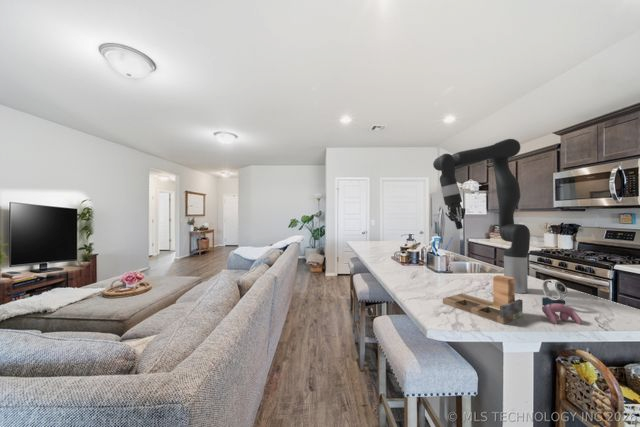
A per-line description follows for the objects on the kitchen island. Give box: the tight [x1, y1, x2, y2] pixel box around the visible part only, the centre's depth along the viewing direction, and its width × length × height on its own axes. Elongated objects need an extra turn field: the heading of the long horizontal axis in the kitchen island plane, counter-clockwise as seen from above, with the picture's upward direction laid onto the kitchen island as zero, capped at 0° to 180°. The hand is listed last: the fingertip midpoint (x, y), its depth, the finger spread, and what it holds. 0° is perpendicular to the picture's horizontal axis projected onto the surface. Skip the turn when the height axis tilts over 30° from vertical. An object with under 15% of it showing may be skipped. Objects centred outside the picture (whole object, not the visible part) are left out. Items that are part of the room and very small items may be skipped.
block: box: [492, 274, 516, 309], centre depth 94 cm, size 5×5×12 cm
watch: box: [541, 279, 568, 306], centre depth 100 cm, size 6×8×11 cm
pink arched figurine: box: [541, 303, 583, 325], centre depth 87 cm, size 10×5×7 cm, turn 87°
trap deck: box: [442, 292, 524, 325], centre depth 98 cm, size 14×23×6 cm, turn 29°
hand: (459, 228), depth 119 cm, fingers closed
